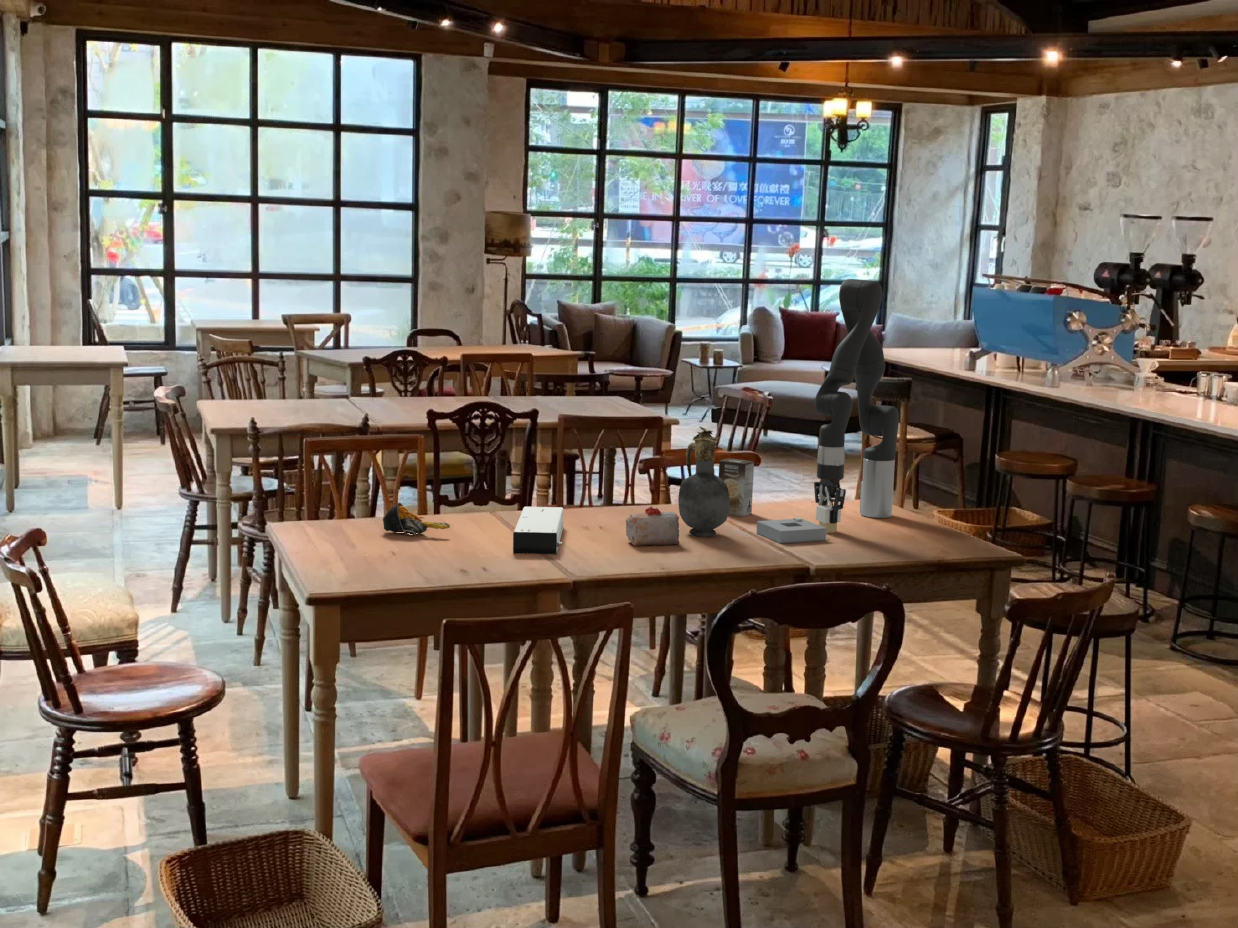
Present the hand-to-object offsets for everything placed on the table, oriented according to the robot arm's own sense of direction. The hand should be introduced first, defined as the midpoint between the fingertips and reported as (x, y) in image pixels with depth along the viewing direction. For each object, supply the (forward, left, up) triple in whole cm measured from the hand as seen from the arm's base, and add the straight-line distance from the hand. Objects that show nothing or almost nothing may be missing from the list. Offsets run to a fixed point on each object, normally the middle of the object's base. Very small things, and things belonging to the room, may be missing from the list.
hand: (828, 521), depth 375 cm
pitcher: (-8, -36, -3) cm, 37 cm away
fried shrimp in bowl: (-28, -112, -3) cm, 116 cm away
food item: (0, -54, -3) cm, 54 cm away
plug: (0, 0, -3) cm, 3 cm away
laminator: (-12, -81, -4) cm, 82 cm away
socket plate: (+4, -14, -3) cm, 15 cm away
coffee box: (-31, -14, -3) cm, 34 cm away
